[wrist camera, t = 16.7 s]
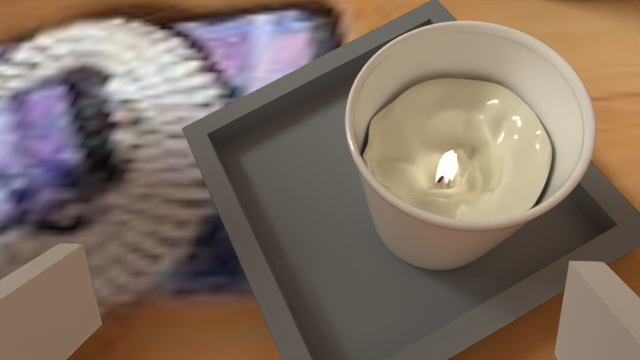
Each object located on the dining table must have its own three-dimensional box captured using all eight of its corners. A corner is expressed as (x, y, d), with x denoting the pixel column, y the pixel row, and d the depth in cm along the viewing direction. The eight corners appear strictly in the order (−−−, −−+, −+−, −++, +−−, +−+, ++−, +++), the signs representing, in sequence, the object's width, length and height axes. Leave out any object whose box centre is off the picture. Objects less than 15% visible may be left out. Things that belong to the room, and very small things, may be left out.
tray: (323, 428, 25) (316, 436, 22) (198, 147, 34) (181, 128, 31) (631, 247, 26) (659, 234, 23) (431, 26, 35) (435, -3, 33)
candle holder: (344, 263, 27) (318, 198, 16) (376, 134, 31) (372, 9, 20) (503, 301, 25) (594, 255, 14) (518, 157, 28) (601, 31, 18)
